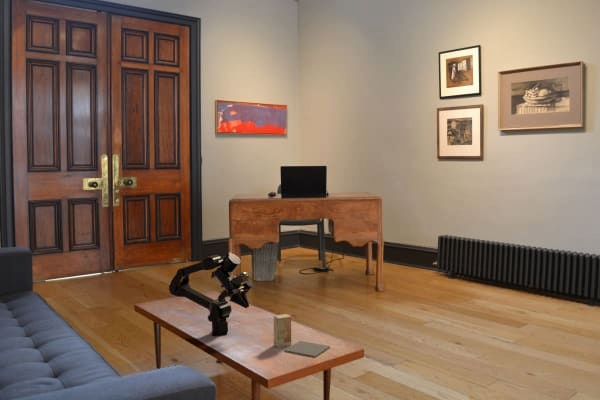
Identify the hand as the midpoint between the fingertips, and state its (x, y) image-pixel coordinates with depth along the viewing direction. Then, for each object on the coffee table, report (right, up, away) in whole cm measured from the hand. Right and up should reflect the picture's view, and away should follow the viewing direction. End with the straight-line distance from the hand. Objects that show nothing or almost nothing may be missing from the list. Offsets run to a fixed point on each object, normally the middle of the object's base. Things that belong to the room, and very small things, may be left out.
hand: (247, 307), depth 231 cm
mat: (+25, -14, -14) cm, 32 cm away
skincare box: (+15, -14, -8) cm, 22 cm away
